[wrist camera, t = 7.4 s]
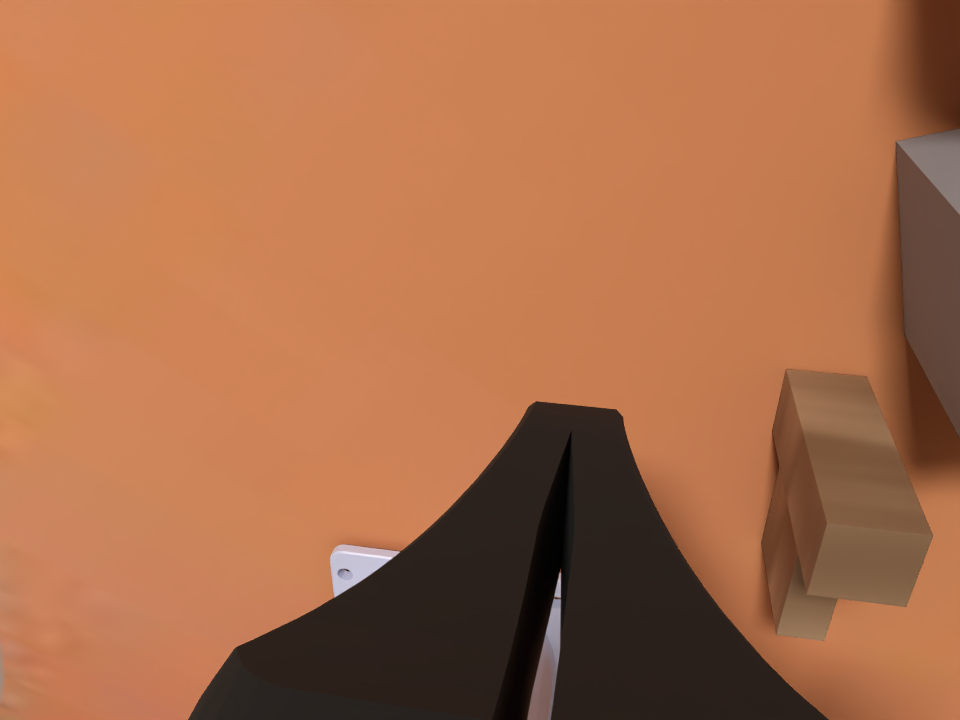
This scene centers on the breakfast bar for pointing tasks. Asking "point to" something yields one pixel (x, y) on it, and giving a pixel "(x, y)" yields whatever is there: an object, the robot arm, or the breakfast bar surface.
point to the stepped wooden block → (837, 506)
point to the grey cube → (932, 258)
